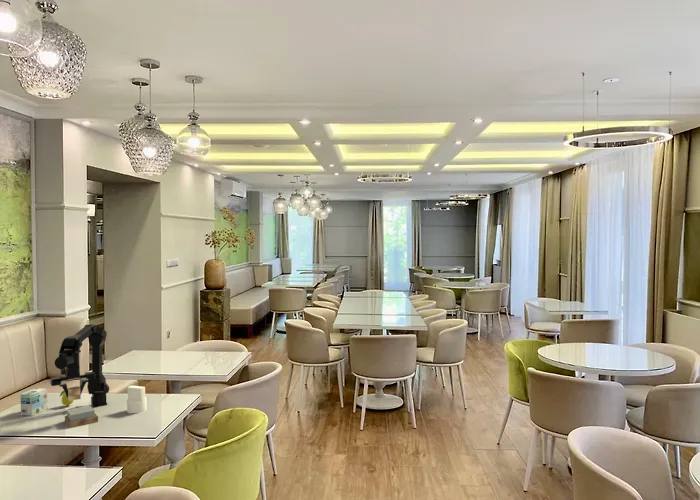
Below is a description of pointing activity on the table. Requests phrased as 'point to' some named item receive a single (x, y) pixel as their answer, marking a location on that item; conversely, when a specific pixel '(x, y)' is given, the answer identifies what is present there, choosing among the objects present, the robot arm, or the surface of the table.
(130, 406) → the cylinder with rectangular tab
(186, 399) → the table surface
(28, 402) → the light bulb box
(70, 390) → the oak cube
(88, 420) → the walnut slab
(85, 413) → the slate slab
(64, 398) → the lemon
